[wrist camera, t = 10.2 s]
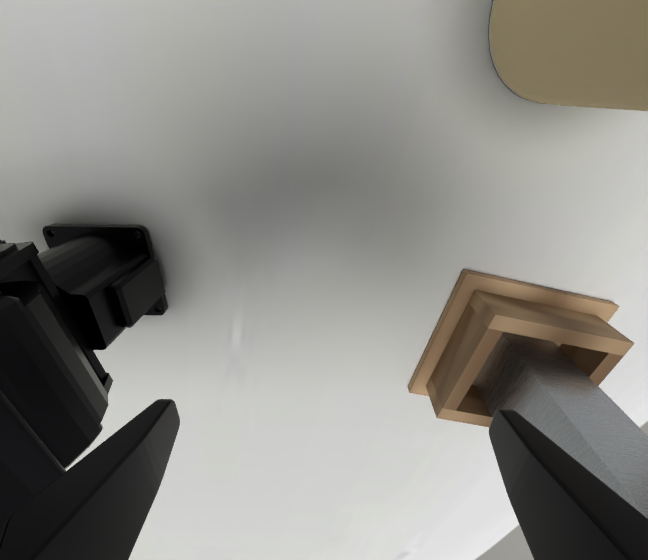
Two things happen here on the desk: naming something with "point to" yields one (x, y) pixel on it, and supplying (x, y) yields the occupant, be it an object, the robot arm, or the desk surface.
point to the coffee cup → (573, 51)
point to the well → (514, 317)
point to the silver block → (567, 411)
